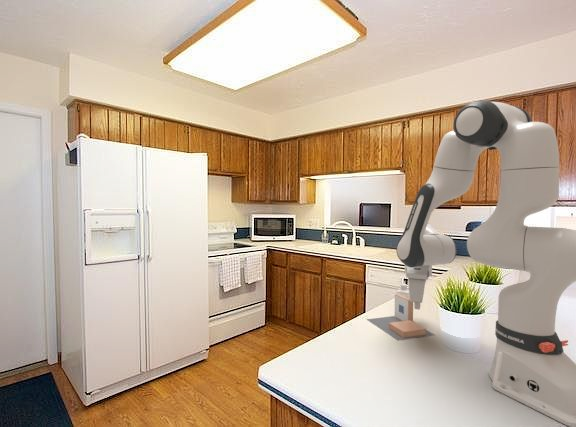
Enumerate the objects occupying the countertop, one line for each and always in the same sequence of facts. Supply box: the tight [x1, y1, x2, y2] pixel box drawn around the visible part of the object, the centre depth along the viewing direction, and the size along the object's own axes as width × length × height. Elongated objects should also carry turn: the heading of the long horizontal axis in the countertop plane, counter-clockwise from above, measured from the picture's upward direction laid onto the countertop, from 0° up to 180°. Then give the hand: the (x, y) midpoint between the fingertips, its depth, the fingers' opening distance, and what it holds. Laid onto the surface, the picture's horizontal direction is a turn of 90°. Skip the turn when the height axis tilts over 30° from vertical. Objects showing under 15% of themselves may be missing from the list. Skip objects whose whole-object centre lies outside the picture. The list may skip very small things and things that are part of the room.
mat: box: [366, 315, 436, 342], centre depth 109 cm, size 19×15×1 cm
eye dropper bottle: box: [396, 280, 410, 298], centre depth 128 cm, size 4×6×12 cm
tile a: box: [389, 320, 427, 338], centre depth 104 cm, size 8×2×9 cm
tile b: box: [394, 293, 414, 322], centre depth 115 cm, size 8×2×9 cm, turn 17°
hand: (417, 308), depth 106 cm, fingers closed
